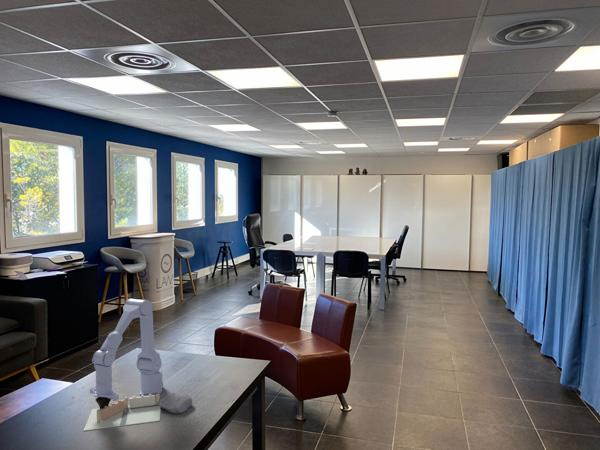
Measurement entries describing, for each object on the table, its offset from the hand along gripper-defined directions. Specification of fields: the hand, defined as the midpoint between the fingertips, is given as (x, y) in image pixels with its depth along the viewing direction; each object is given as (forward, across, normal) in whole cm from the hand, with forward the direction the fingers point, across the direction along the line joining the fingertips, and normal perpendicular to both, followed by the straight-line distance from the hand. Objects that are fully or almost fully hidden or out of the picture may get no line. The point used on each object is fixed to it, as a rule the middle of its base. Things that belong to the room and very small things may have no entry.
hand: (104, 414), depth 168 cm
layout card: (+1, +5, +5) cm, 8 cm away
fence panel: (+1, +2, +2) cm, 3 cm away
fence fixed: (+1, +6, +13) cm, 15 cm away
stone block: (+1, +18, +19) cm, 27 cm away
